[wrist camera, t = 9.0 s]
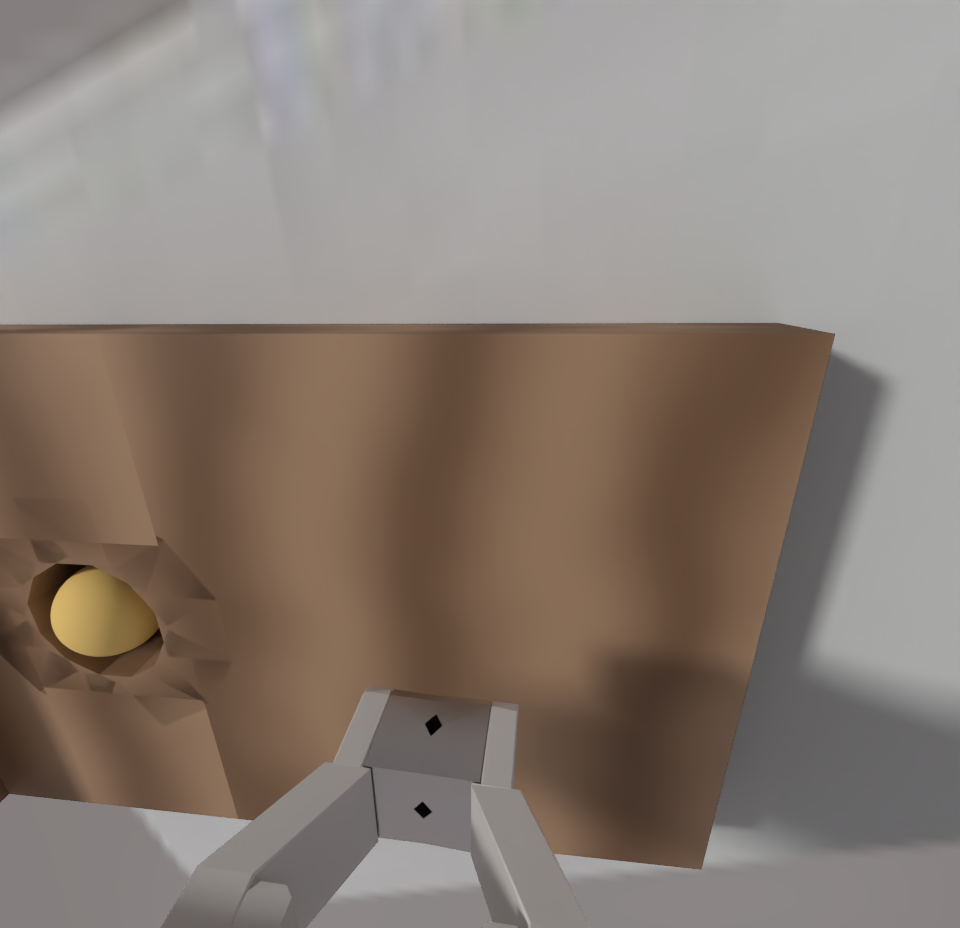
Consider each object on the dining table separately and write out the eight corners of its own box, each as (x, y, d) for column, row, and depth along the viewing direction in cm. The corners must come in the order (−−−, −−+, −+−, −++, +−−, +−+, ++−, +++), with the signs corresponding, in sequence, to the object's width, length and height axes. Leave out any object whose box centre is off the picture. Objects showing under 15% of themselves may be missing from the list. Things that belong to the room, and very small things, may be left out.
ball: (16, 606, 14) (56, 552, 16) (53, 692, 15) (85, 628, 18) (147, 579, 15) (164, 533, 18) (172, 660, 16) (184, 605, 19)
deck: (778, 323, 12) (949, 356, 7) (680, 796, 19) (734, 988, 14) (-153, 324, 15) (-498, 349, 10) (41, 735, 22) (-110, 876, 17)
